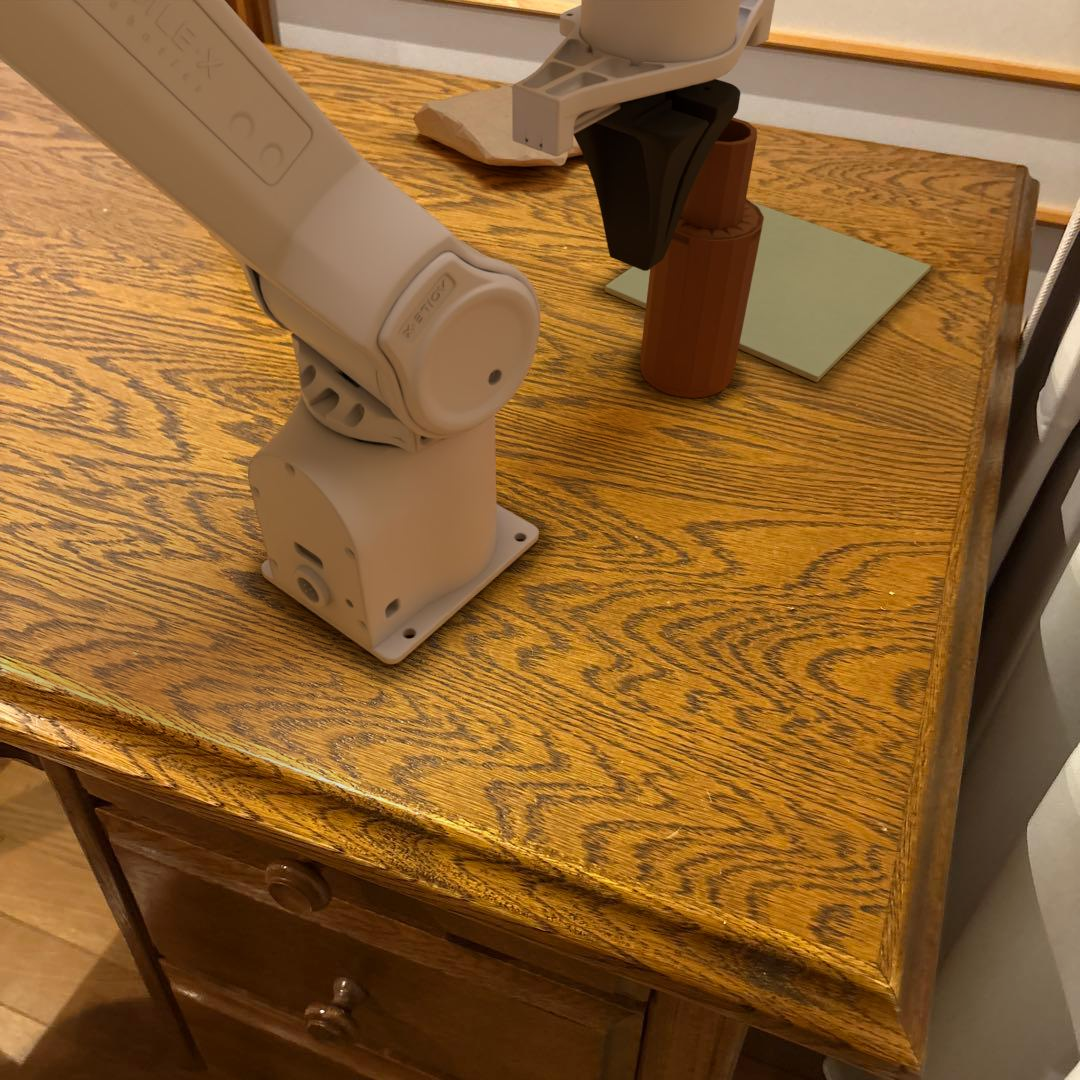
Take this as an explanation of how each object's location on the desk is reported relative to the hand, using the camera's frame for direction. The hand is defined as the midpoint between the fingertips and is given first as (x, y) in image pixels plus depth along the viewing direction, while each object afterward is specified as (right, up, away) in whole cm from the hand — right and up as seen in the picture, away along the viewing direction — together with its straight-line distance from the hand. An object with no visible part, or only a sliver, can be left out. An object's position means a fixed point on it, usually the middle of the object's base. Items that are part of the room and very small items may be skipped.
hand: (636, 257), depth 43 cm
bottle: (+4, -3, +10) cm, 11 cm away
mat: (+10, +3, +17) cm, 20 cm away
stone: (-5, +17, +29) cm, 34 cm away
